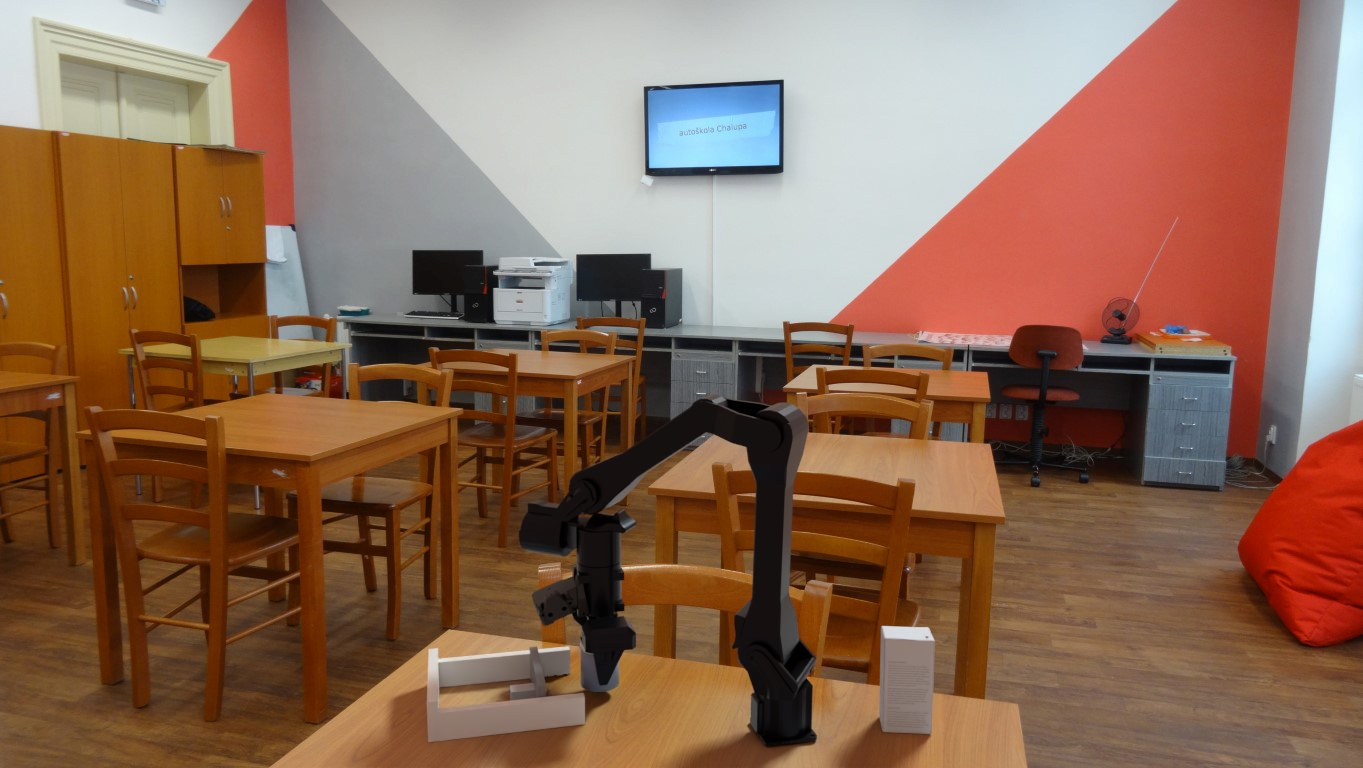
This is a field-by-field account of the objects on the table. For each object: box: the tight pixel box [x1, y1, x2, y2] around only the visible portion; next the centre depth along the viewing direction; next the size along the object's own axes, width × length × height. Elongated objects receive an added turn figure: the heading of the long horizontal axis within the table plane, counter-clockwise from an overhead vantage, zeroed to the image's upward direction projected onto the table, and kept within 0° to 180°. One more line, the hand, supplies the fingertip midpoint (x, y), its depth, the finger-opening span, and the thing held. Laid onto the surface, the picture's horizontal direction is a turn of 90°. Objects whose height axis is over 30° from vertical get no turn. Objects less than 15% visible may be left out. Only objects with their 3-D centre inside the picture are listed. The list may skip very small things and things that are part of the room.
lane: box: [426, 645, 586, 743], centre depth 122 cm, size 19×15×5 cm
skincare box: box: [878, 625, 936, 735], centre depth 116 cm, size 6×4×12 cm
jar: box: [579, 638, 620, 693], centre depth 124 cm, size 5×5×6 cm
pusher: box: [509, 645, 547, 701], centre depth 122 cm, size 4×12×4 cm, turn 14°
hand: (600, 675), depth 125 cm, fingers closed on jar, 5 cm apart
